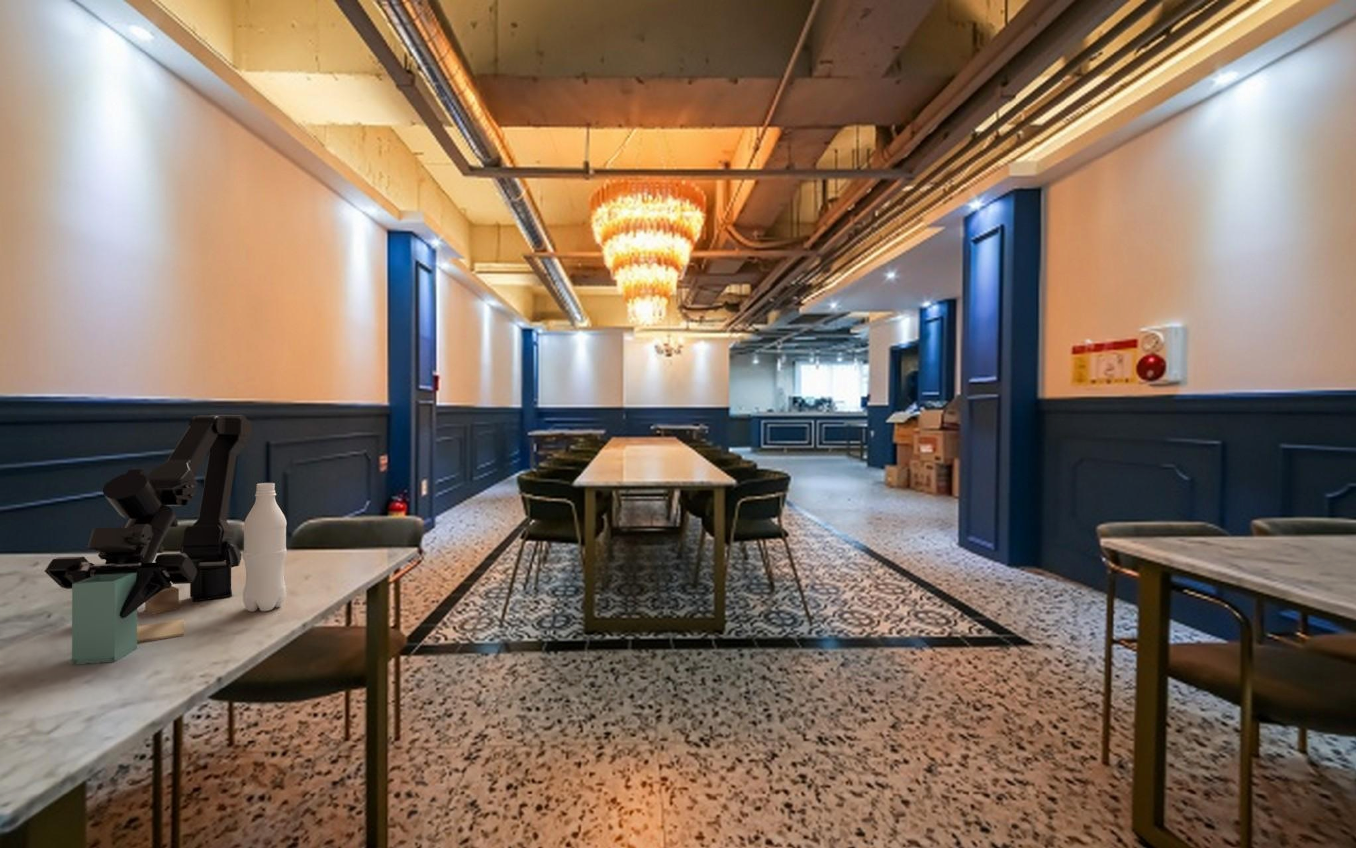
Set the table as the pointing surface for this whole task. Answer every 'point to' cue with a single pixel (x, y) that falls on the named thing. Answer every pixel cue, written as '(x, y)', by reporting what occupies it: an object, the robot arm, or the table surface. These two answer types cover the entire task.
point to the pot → (102, 619)
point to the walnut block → (163, 601)
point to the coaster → (160, 630)
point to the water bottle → (264, 552)
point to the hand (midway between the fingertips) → (99, 618)
